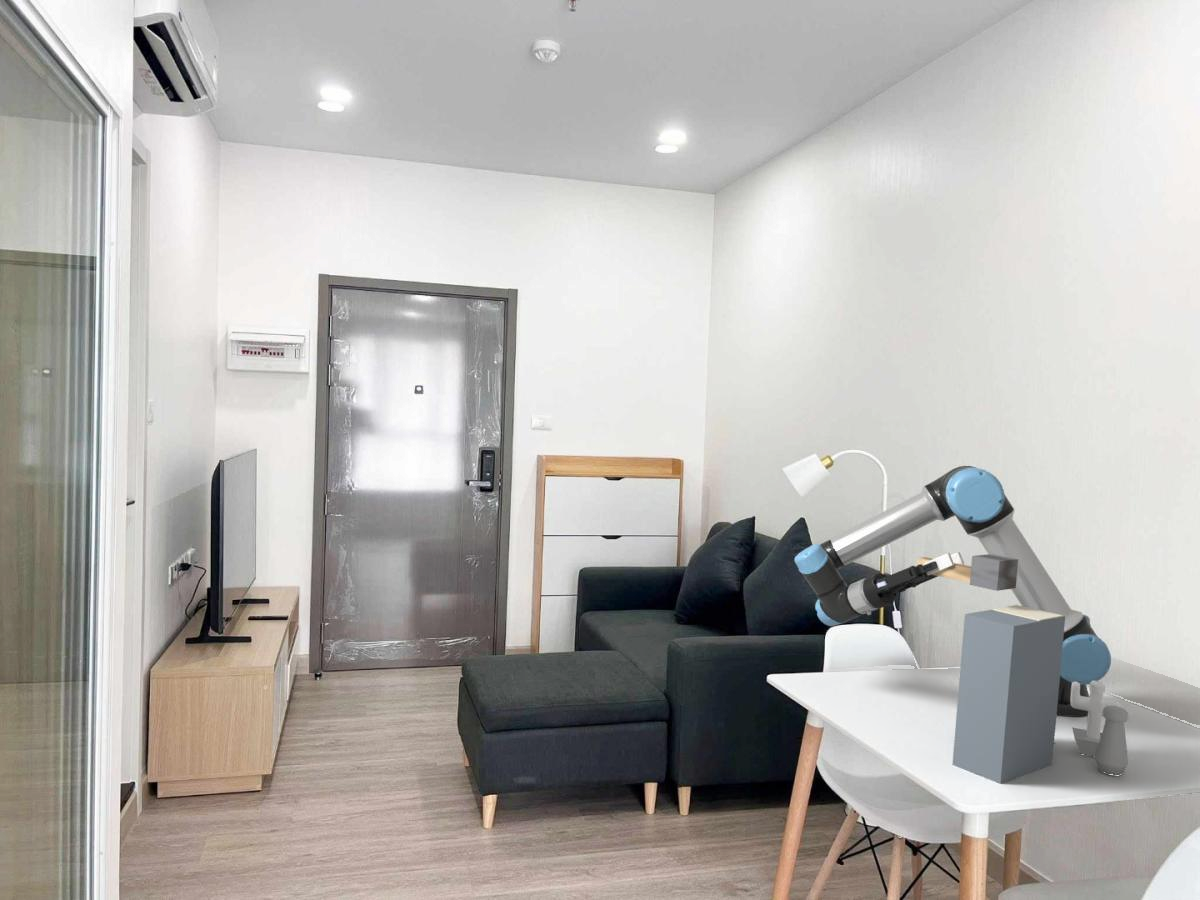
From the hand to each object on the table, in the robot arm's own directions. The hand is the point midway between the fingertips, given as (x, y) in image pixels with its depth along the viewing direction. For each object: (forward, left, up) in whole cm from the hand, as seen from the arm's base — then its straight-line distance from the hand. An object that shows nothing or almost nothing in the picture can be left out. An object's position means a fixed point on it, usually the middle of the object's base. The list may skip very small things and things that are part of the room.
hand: (955, 558), depth 194 cm
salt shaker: (-13, +29, -38) cm, 50 cm away
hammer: (0, +2, -4) cm, 5 cm away
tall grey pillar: (+4, +16, -38) cm, 42 cm away
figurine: (-20, +22, -38) cm, 48 cm away
